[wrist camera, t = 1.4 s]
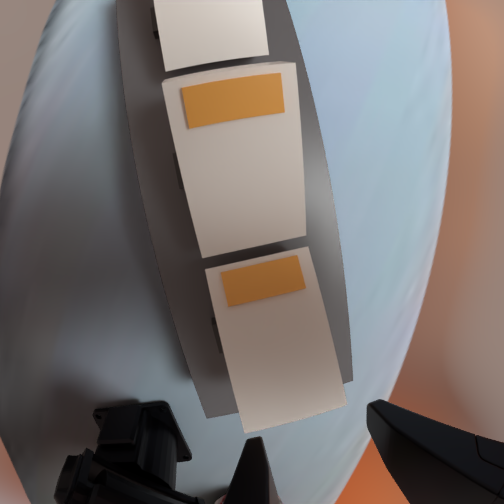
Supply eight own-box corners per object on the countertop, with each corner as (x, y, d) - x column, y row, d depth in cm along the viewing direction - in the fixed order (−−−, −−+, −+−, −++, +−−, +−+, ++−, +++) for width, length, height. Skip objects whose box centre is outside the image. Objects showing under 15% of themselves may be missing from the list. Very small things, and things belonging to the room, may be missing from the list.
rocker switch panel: (331, 380, 23) (359, 422, 17) (216, 409, 22) (220, 459, 16) (256, -16, 16) (269, -62, 11) (129, 5, 16) (112, -38, 10)
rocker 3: (335, 397, 14) (348, 405, 12) (243, 421, 13) (244, 434, 11) (300, 256, 15) (309, 245, 13) (208, 276, 15) (204, 268, 13)
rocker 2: (293, 214, 15) (307, 237, 13) (199, 234, 14) (202, 261, 13) (280, 61, 11) (297, 63, 9) (164, 79, 10) (161, 83, 9)
